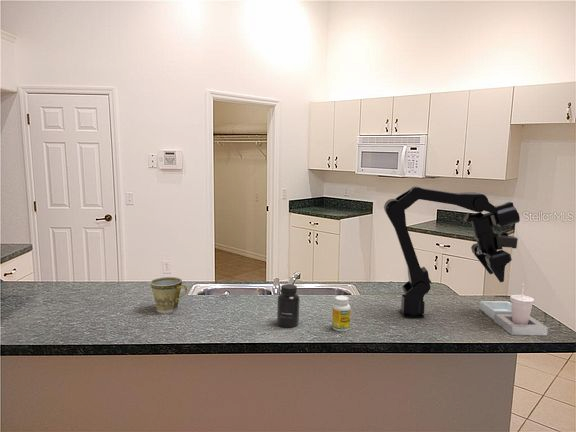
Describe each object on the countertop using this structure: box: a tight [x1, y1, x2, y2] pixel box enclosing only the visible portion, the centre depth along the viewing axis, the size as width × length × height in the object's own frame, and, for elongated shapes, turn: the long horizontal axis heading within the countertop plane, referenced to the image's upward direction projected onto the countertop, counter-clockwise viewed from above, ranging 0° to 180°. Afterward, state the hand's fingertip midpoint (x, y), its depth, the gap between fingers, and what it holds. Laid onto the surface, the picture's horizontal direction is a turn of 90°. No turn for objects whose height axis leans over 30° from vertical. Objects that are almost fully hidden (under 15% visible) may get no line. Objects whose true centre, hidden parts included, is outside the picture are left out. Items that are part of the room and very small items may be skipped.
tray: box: [479, 300, 512, 321], centre depth 137 cm, size 10×10×3 cm
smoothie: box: [509, 283, 535, 325], centre depth 125 cm, size 6×6×14 cm
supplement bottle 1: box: [276, 283, 301, 329], centre depth 126 cm, size 7×7×12 cm
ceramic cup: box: [150, 276, 188, 315], centre depth 136 cm, size 13×10×10 cm
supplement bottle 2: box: [331, 295, 352, 332], centre depth 123 cm, size 5×5×10 cm
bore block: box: [493, 314, 549, 336], centre depth 126 cm, size 10×10×2 cm
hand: (496, 277), depth 131 cm, fingers open, 9 cm apart
